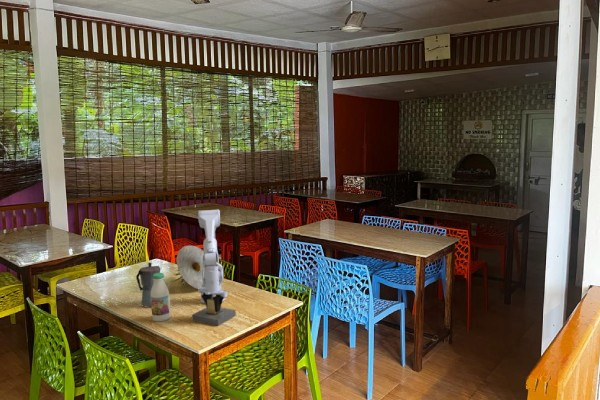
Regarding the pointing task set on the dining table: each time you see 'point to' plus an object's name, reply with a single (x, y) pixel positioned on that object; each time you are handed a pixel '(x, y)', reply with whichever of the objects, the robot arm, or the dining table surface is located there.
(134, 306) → the dining table surface
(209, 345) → the dining table surface
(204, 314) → the grey flat slab
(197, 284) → the disc
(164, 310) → the milk bottle
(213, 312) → the plug block
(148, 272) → the moka pot
